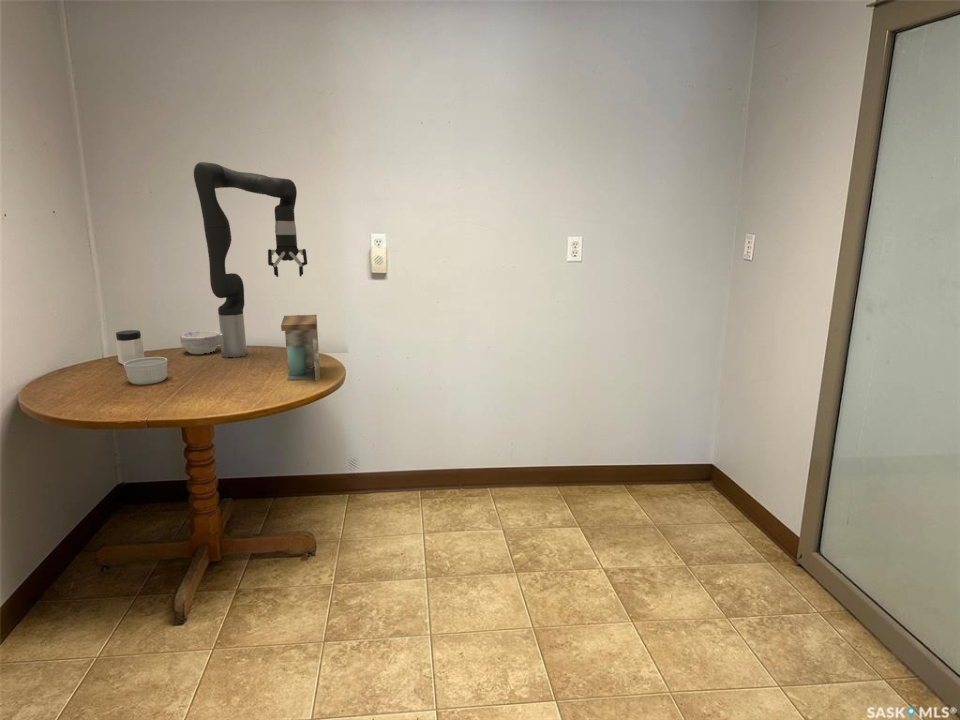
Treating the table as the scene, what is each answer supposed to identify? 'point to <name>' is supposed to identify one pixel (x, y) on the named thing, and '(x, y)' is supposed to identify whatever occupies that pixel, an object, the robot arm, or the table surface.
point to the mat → (308, 376)
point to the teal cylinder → (297, 360)
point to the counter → (303, 338)
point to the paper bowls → (200, 341)
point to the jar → (129, 345)
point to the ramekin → (146, 370)
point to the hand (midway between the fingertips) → (288, 276)
